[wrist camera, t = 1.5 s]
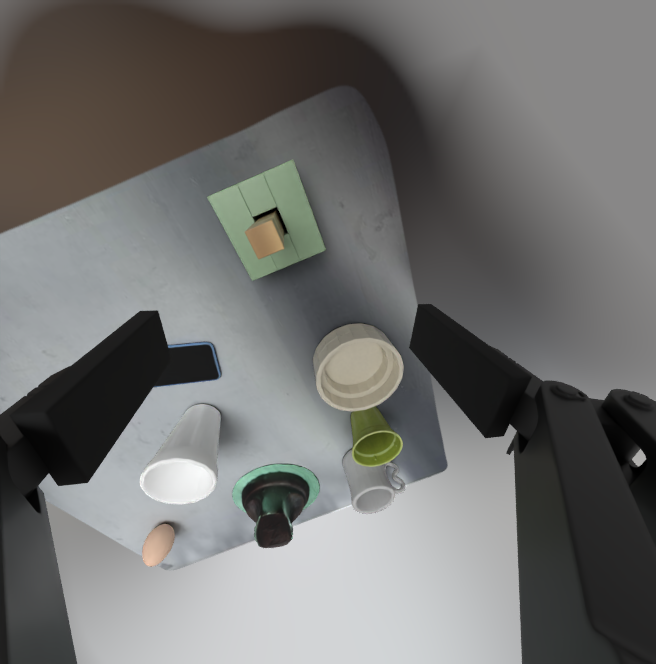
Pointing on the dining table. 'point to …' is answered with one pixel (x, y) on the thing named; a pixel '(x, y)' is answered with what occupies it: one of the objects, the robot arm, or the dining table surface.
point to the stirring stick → (266, 235)
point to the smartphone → (190, 364)
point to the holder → (263, 195)
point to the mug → (370, 485)
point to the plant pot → (373, 438)
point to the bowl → (356, 367)
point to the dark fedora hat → (275, 500)
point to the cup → (186, 459)
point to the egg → (158, 544)
